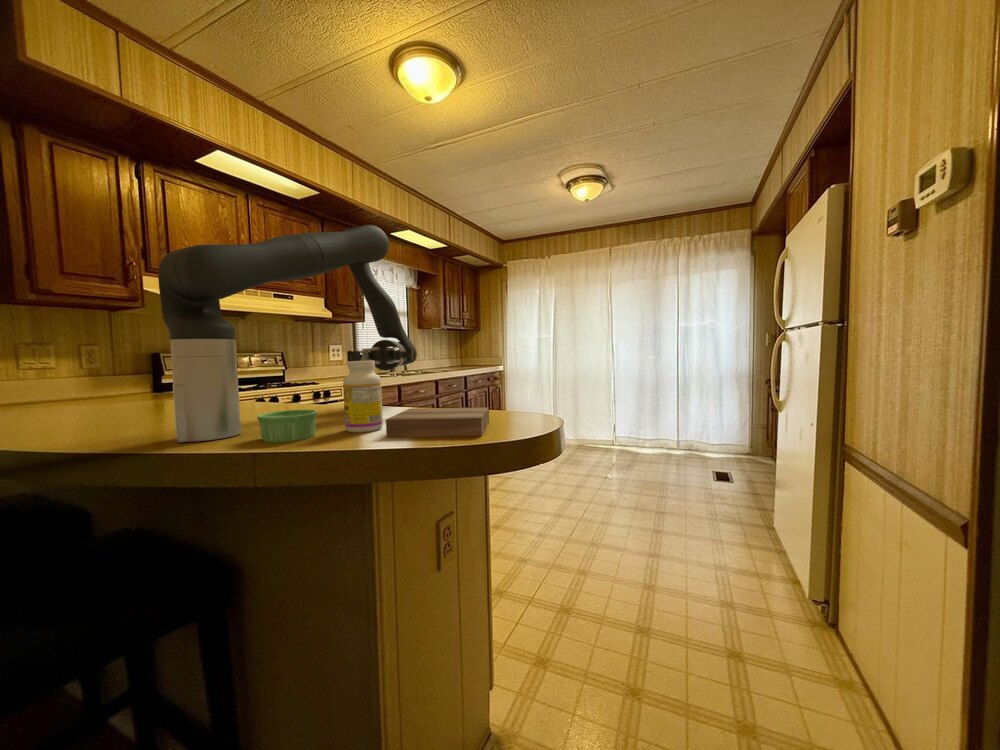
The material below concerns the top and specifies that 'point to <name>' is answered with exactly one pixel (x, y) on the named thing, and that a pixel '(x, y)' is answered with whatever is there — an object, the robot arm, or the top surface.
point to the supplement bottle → (362, 398)
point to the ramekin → (287, 425)
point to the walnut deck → (438, 422)
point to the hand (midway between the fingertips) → (375, 355)
